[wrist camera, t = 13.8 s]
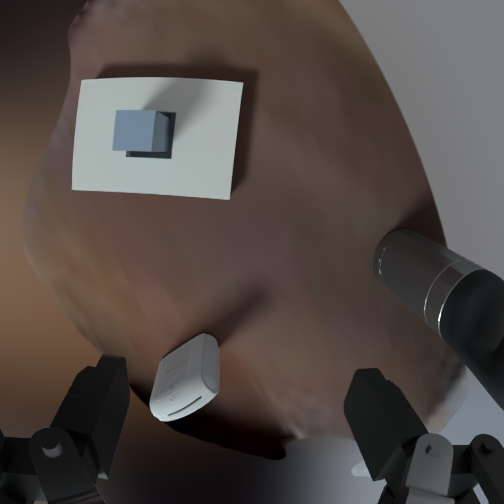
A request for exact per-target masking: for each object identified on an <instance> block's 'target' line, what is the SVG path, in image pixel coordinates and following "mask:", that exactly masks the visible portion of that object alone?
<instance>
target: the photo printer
mask: <svg viewBox="0 0 504 504" xmlns="http://www.w3.org/2000/svg"><path fill="white" fill-rule="evenodd" d="M219 369H220V350H219V347H218V343H217V340H216V339H215V338H214V337H213V336H211V335H209V334H205V333H203V334H200V335H198V336H196V337H195V338H193V339H191V340H190V341H188V342H187V343H185V344H183V345H182V346H180V347H179V348H177V349H176V350H174V351H173V352H171V353H170V354H168V355H167V356H166V357H164V358H163V359H162V360H161V361H160V363H159V367H158V371H157V375H156V379H155V383H154V387H153V391H152V395H151V399H150V409H151V412H152V414H153V415H154V416H155V417H157V418H158V419H159V420H160V421H171V420H175V419H178V418H181V417H184V416H186V415H188V414H190V413H192V412H194V411H196V410H197V409H199V408H201V407H202V406H204V405H205V404H206V403H208V402H209V401H210V400H212V399H213V398H214V397H215V396H216V394H217V393H218V392H219V372H220V370H219Z"/></svg>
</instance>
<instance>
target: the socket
mask: <svg viewBox="0 0 504 504" xmlns="http://www.w3.org/2000/svg"><path fill="white" fill-rule="evenodd" d="M242 88H243V83H241V82H232V81H221V80H208V79H192V78H165V77H133V78H106V79H90V80H82V83H81V89H80V96H79V103H78V111H77V119H76V129H75V140H74V153H73V172H72V190H88V191H111V192H131V193H148V194H163V195H177V196H190V197H203V198H215V199H226V200H230V190H231V181H232V172H233V163H234V154H235V145H236V137H237V128H238V120H239V112H240V103H241V95H242ZM116 110H156V111H158V112H159V113H161V114H163V115H164V116H166V117H168V118H169V119H171V123H170V132H169V141H168V152H147V151H112V147H113V136H114V126H115V117H116Z"/></svg>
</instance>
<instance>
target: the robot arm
mask: <svg viewBox="0 0 504 504" xmlns="http://www.w3.org/2000/svg"><path fill="white" fill-rule="evenodd" d="M374 270H375V274H376V276H377V277H378V279H379V280H380V281H381V282H382V283H383V284H384V285H385V286H386V287H387V288H388V289H390V290H391V291H392V292H393V293H394V294H395V295H396V296H397V297H398V298H399V299H400V300H401V301H402V302H404V303H405V304H406V305H407V306H408V307H409V308H410V309H411V310H412V311H413V312H414V313H415V314H416V315H418V316H419V317H420V318H421V319H422V320H423V321H424V322H425V323H426V324H427V325H428V326H429V327H430V328H431V329H432V330H433V331H434V332H436V333H437V334H438V335H439V336H440V337H441V338H442V339H443V340H444V341H445V342H446V343H447V344H448V345H449V346H450V348H451V349H452V351H453V352H454V353H455V354H456V355H457V356H458V357H459V359H460V360H461V361H462V362H463V363H464V364H465V365H466V366H467V367H468V368H469V369H470V370H471V372H472V373H473V374H474V375H475V376H476V378H477V379H478V380H479V382H480V383H481V384H482V385H483V387H484V388H485V389H486V390H487V392H488V393H489V394H490V395H491V397H492V398H493V399H494V400H495V401H496V403H497V404H498V405H499V406H500V407H501V408H502V409H503V410H504V281H503V280H502V279H501V278H500V277H498V276H497V275H496V274H494V273H492V272H490V271H488V270H487V269H485V268H483V267H481V266H480V265H478V264H476V263H474V262H472V261H470V260H468V259H466V258H465V257H463V256H461V255H459V254H457V253H455V252H453V251H451V250H449V249H448V248H446V247H444V246H442V245H440V244H438V243H436V242H434V241H432V240H430V239H428V238H426V237H424V236H422V235H420V234H418V233H416V232H414V231H412V230H410V229H398V230H395V231H393V232H391V233H389V234H388V235H387V236H386V237H385V238H384V239H383V240H382V241H381V243H380V244H379V246H378V248H377V250H376V253H375V256H374ZM129 401H130V389H129V382H128V374H127V366H126V360H125V358H124V357H120V356H113V355H107V354H103V355H102V356H101V358H100V360H99V362H98V364H97V366H96V367H92V366H87V367H86V368H85V369H84V370H82V371H81V372H79V373H78V374H77V376H76V377H75V379H74V381H73V383H72V386H71V387H70V388H69V390H68V392H67V395H66V396H65V398H64V400H63V402H62V404H61V405H60V408H59V409H58V411H57V413H56V415H55V417H54V419H53V421H52V423H51V425H50V427H46V428H42V429H40V430H38V431H36V432H35V433H34V434H33V435H32V436H31V437H30V438H16V437H5V436H4V435H3V433H2V432H1V430H0V504H34V501H35V500H36V501H47V502H48V504H106V503H105V501H104V499H103V498H102V496H101V494H100V493H99V491H98V490H97V488H96V486H95V485H96V481H97V478H98V477H100V478H104V479H108V478H109V474H110V470H111V466H112V463H113V458H114V455H115V452H116V448H117V444H118V441H119V437H120V434H121V431H122V427H123V424H124V420H125V417H126V413H127V410H128V407H129ZM344 414H345V417H346V419H347V421H348V424H349V426H350V428H351V431H352V433H353V435H354V438H355V440H356V442H357V444H358V447H359V449H360V451H361V454H362V456H363V459H364V461H365V464H366V466H367V468H368V471H369V473H370V475H371V478H372V480H373V481H377V480H382V479H385V480H386V482H387V484H386V485H385V487H384V489H383V491H382V494H381V496H380V499H379V501H378V504H480V502H479V500H478V498H477V496H476V494H475V493H474V490H473V488H474V487H475V486H476V485H477V484H478V483H479V485H480V487H481V488H482V490H483V492H484V494H485V496H486V497H487V499H488V502H489V504H504V448H503V447H502V445H501V444H500V442H499V441H498V440H497V439H496V438H494V437H493V436H491V435H487V434H480V435H477V436H475V437H474V439H473V440H472V441H471V443H470V444H469V445H451V443H450V442H449V441H448V440H447V439H446V438H445V437H443V436H441V435H439V434H434V433H429V432H428V431H427V429H426V427H425V426H424V424H423V423H422V421H421V420H420V418H419V417H418V415H417V414H416V412H415V411H414V409H413V408H412V407H411V405H410V403H409V402H408V400H407V399H406V397H405V396H404V394H403V393H402V391H401V390H400V388H399V387H397V386H396V385H395V384H394V383H392V382H391V381H390V380H386V379H385V378H384V376H383V375H382V373H381V372H380V370H379V369H378V368H368V369H358V370H356V372H355V373H354V376H353V379H352V382H351V384H350V387H349V390H348V392H347V395H346V398H345V401H344Z"/></svg>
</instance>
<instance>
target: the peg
mask: <svg viewBox="0 0 504 504" xmlns="http://www.w3.org/2000/svg"><path fill="white" fill-rule="evenodd" d="M170 123H171V119H169V118H168V117H166V116H164V115H163V114H161V113H159V112H158V111H156V110H116V117H115V126H114V136H113V147H112V151H147V152H168V141H169V132H170Z"/></svg>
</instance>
